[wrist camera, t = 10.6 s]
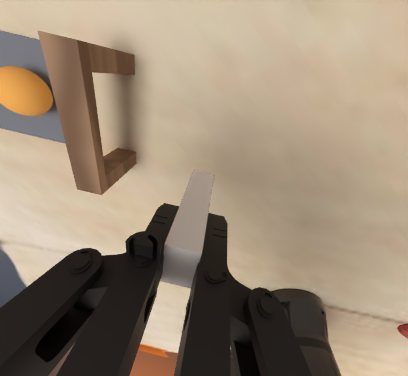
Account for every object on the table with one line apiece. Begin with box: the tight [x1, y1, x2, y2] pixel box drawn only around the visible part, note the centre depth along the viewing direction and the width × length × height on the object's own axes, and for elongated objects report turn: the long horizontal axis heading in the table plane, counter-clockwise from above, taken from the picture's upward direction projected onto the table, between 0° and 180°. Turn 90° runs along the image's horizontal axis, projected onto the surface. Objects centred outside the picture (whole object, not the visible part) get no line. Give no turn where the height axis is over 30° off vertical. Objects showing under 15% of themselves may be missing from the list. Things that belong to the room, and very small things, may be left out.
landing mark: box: [0, 31, 66, 143], centre depth 24 cm, size 13×13×1 cm
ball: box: [0, 66, 53, 116], centre depth 22 cm, size 6×6×6 cm
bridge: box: [38, 31, 136, 195], centre depth 21 cm, size 3×14×9 cm, turn 169°
